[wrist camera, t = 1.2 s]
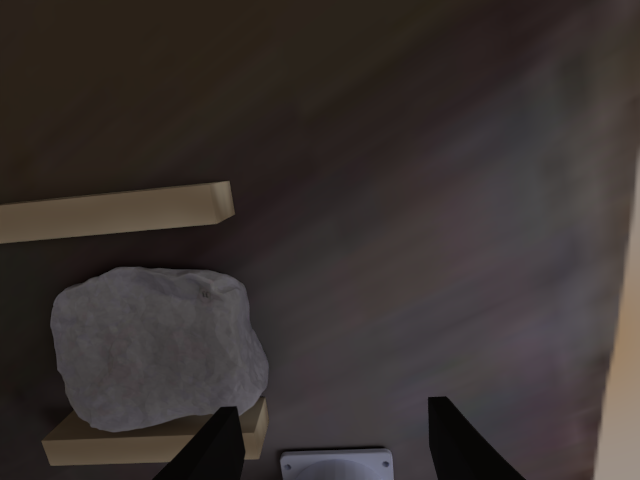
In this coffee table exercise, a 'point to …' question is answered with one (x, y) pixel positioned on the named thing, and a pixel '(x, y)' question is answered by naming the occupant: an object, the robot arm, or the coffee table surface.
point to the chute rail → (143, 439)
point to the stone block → (156, 346)
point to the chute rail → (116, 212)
